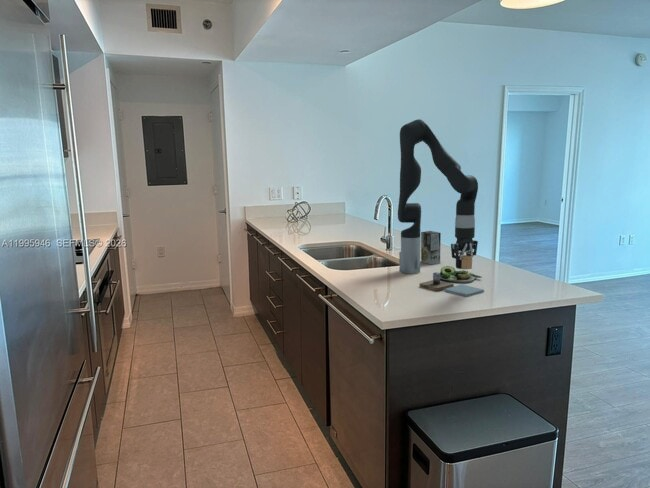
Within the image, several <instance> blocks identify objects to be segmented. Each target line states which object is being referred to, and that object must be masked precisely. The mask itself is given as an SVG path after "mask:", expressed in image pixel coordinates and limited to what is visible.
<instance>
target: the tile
mask: <svg viewBox="0 0 650 488" xmlns="http://www.w3.org/2000/svg"><path fill="white" fill-rule="evenodd" d="M444 292H445V293H449V294H453V295H457V296H461V297H465V298H467V297H471V296H472V297H473V296H474V295H475V296H476V295H478V294H481V293H484V292H485V289H484V288H478V287H474V286H470V285H466V284H464V283H460V284H458V285H455V286H454V287H450V288H446V289H445V290H444Z"/></svg>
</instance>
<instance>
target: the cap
mask: <svg viewBox="0 0 650 488" xmlns="http://www.w3.org/2000/svg"><path fill="white" fill-rule="evenodd" d="M459 256H460V254H459ZM461 260H462V265H461V269H460V270H472V268H473V257H472V256H470V255H466V254H463V256H462V259H461Z"/></svg>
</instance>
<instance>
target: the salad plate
mask: <svg viewBox="0 0 650 488" xmlns="http://www.w3.org/2000/svg"><path fill="white" fill-rule="evenodd" d="M439 273H440V281H444V282H448V283H454V284H455V283H457V284H465V283H468V284H469V283H472V282H474V280H476V279H479V278H480V279H481V278H483V277H482V275H481V276H480V275H477V274H475V273H472V272H469V271H467V270H465V269H461V270H456V268H454V267H453V266H451V265H450V266H449V265H446V266H443V267H441V268H440V272H439Z"/></svg>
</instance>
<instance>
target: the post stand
mask: <svg viewBox="0 0 650 488" xmlns="http://www.w3.org/2000/svg"><path fill="white" fill-rule="evenodd" d="M454 285H455V283H453V282H444V281H440V272H433V274H432V280H426V281H424V282H420V283H419V288H423V289H427V290H430V291H434V292H441V291H445V289H446V288H450V287H454Z"/></svg>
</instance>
